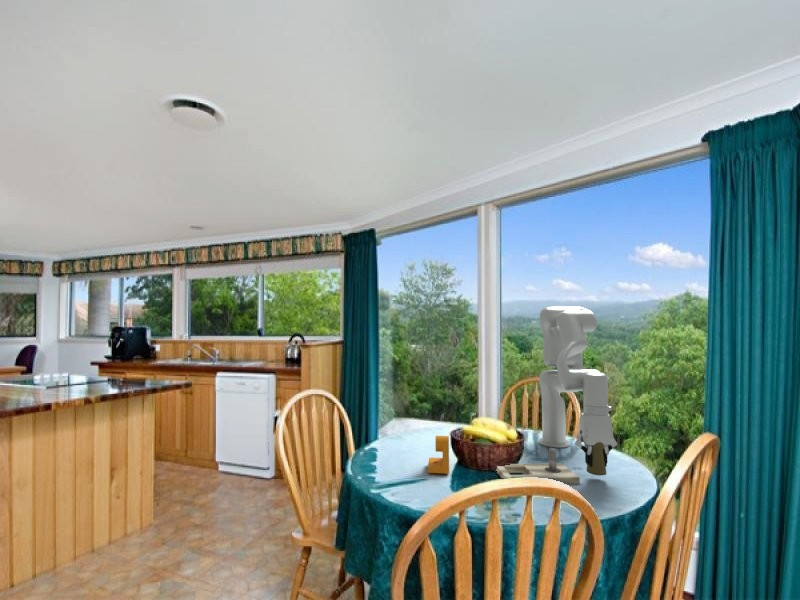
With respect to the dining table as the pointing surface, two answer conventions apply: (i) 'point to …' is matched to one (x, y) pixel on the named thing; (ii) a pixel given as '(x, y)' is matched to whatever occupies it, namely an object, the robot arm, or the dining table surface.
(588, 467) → the olive rounded piece
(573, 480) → the beige panel with knob
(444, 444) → the bracket
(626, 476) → the dining table surface
